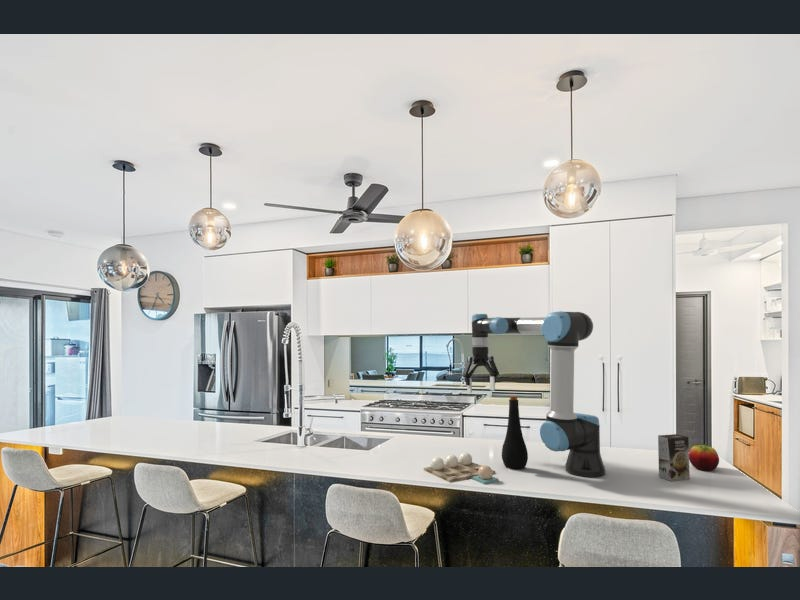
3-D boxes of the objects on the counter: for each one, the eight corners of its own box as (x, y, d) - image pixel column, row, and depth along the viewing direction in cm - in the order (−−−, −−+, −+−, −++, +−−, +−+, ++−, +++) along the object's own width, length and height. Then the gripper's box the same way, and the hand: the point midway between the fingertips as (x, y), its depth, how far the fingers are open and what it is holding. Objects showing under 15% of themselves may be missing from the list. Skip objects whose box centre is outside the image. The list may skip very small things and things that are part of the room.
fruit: (719, 467, 205) (718, 443, 206) (720, 474, 196) (719, 448, 197) (689, 464, 211) (688, 440, 211) (688, 470, 201) (688, 445, 202)
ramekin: (498, 484, 185) (498, 478, 185) (484, 487, 182) (484, 481, 182) (486, 479, 191) (486, 474, 192) (472, 482, 188) (472, 476, 188)
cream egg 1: (447, 471, 198) (446, 457, 198) (435, 473, 195) (435, 459, 195) (439, 468, 203) (439, 454, 203) (428, 470, 200) (427, 456, 200)
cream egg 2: (461, 469, 201) (461, 455, 202) (450, 471, 199) (450, 457, 199) (453, 465, 206) (453, 452, 206) (442, 467, 203) (442, 454, 204)
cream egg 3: (474, 466, 205) (474, 453, 205) (464, 468, 202) (464, 454, 202) (466, 463, 209) (466, 450, 210) (456, 465, 207) (456, 452, 207)
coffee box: (671, 481, 187) (670, 438, 188) (658, 476, 194) (656, 434, 194) (690, 479, 190) (689, 436, 191) (677, 474, 196) (675, 433, 197)
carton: (467, 465, 211) (467, 460, 211) (495, 476, 195) (495, 470, 196) (423, 472, 200) (423, 467, 200) (449, 485, 185) (449, 479, 185)
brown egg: (495, 481, 186) (495, 466, 186) (484, 483, 183) (484, 468, 183) (486, 477, 190) (486, 462, 191) (475, 479, 188) (474, 464, 188)
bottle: (496, 467, 208) (495, 395, 209) (518, 464, 211) (517, 393, 213) (511, 474, 198) (509, 398, 199) (533, 471, 201) (531, 397, 203)
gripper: (495, 345, 245) (496, 388, 244) (454, 346, 233) (454, 392, 232) (505, 345, 238) (506, 390, 237) (463, 347, 226) (464, 394, 225)
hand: (481, 391), depth 234 cm, fingers open, 13 cm apart
